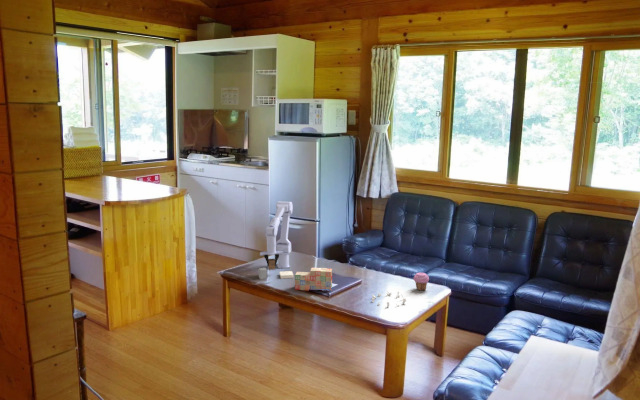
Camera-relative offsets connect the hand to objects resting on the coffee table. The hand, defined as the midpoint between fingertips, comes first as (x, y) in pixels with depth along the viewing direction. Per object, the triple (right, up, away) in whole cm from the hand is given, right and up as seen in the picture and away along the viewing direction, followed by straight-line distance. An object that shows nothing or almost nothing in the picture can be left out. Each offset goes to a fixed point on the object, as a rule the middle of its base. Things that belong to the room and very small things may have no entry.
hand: (271, 265), depth 337 cm
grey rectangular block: (-5, -7, -6) cm, 10 cm away
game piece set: (+69, -14, -45) cm, 84 cm away
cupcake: (+90, -11, -26) cm, 95 cm away
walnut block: (0, -2, 0) cm, 2 cm away
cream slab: (+10, -7, -3) cm, 12 cm away
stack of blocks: (+27, -11, -26) cm, 39 cm away
